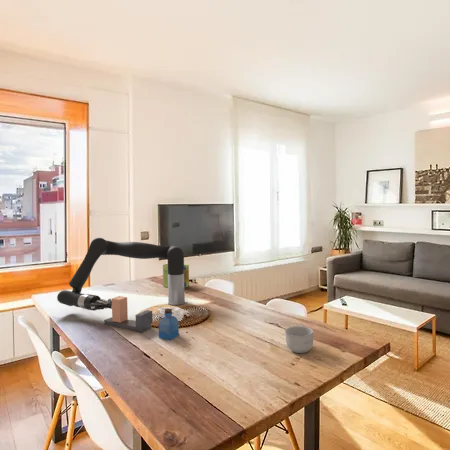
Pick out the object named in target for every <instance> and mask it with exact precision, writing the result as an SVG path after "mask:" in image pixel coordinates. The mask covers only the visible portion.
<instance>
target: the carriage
mask: <svg viewBox="0 0 450 450" xmlns="http://www.w3.org/2000/svg"><path fill="white" fill-rule="evenodd" d="M111 300H112V306H111V314H112V316H111V317H112V321H114V322H119V323H121V322H123V321H125V320H129V319H128V317H129V316H128V311H129V310H128V297H127V296H124V295H123V296H122V295H119V296H115V297H112V298H111Z"/></svg>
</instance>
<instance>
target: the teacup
mask: <svg viewBox="0 0 450 450" xmlns="http://www.w3.org/2000/svg"><path fill="white" fill-rule="evenodd" d="M284 331H285V332H284V333H285V343H286V347H288V349H289V350H291V351H292V352H293V353H296V354H297V353H298V354H306V353H307V352H309V351H310V350H311V349H312V348H313V346H314V330H313V329H312V328H310V327H308V326H305V325H304V324H300V325H295V326H288V328H286V329H285V330H284Z"/></svg>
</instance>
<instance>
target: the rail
mask: <svg viewBox="0 0 450 450" xmlns="http://www.w3.org/2000/svg"><path fill="white" fill-rule="evenodd" d="M103 321H104V323H103V324H104V325H106V326H111V327H115V328H118V329H119V328H121V329H125V330H128V331H129V330H130V331H134V332H139V333H146V331H148V330H151V329H152V324H153V310H149V309H146V310H144V311H142V312H139V313H137V314H135V320H132V319H128V320H125V321H123V322H121V323H119V322H114V321H112V316H111V317H109V318H106V319H104V320H103Z"/></svg>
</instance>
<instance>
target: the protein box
mask: <svg viewBox="0 0 450 450" xmlns="http://www.w3.org/2000/svg"><path fill="white" fill-rule="evenodd" d="M189 266H190V264H188V263H187V264H186V263H184V289H186V288H189V287H190V268H189ZM162 286H163V287H164V288H168V263H165V264H163V265H162Z"/></svg>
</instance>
